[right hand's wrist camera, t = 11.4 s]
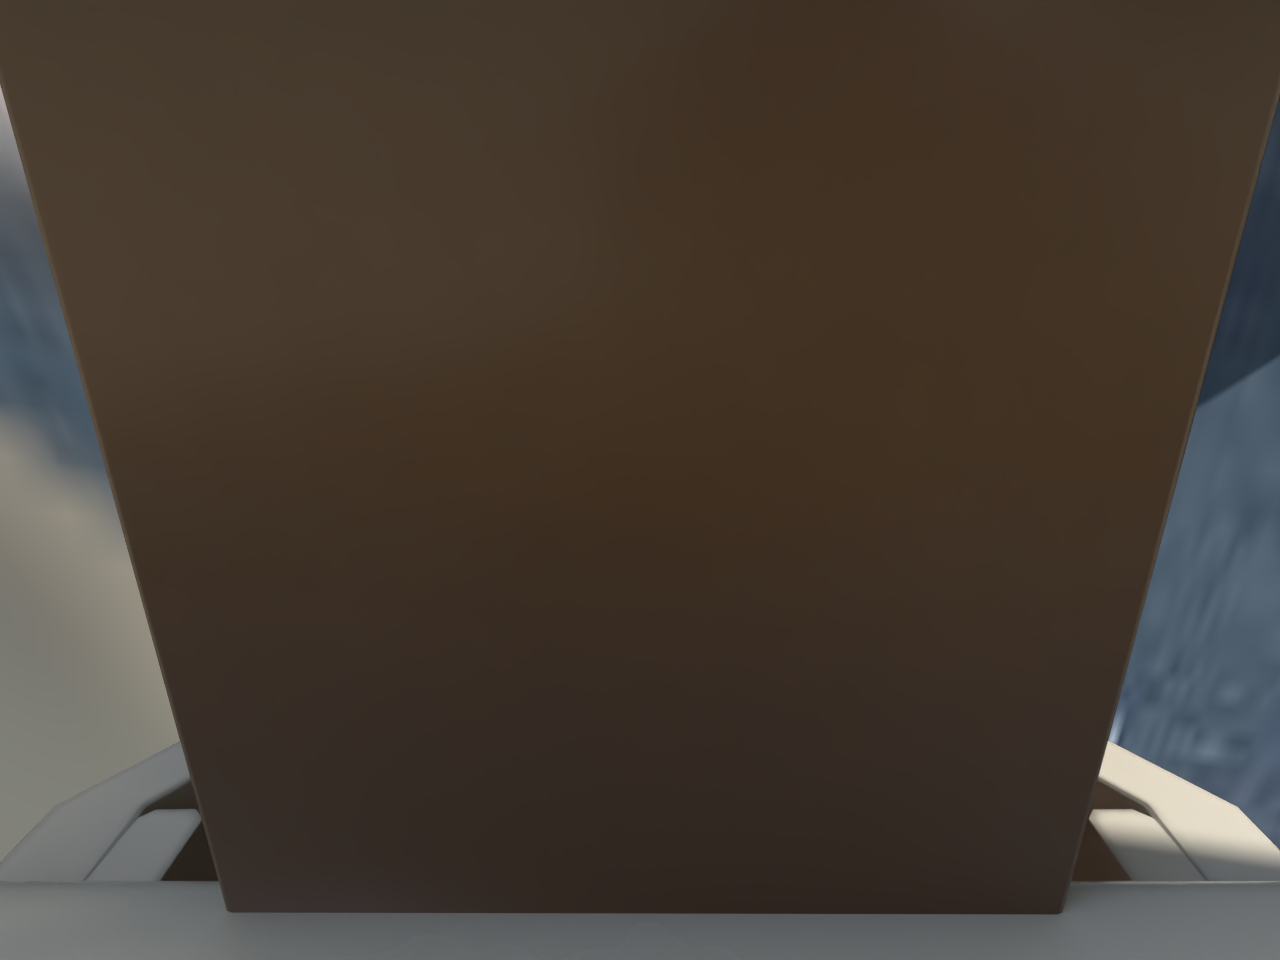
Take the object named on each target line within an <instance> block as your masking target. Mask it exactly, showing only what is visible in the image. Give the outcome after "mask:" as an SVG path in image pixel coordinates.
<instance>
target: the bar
mask: <svg viewBox="0 0 1280 960" xmlns="http://www.w3.org/2000/svg"><path fill="white" fill-rule="evenodd" d="M0 85H1V88H2V92H3V96H4V99H5V103H6V107H7V110H8V114H9V118H10V121H11V125H12V129H13V132H14V136H15V139H16V143H17V147H18V150H19V154H20V158H21V161H22V165H23V169H24V172H25V176H26V180H27V183H28V187H29V191H30V194H31V198H32V202H33V205H34V209H35V212H36V216H37V220H38V223H39V227H40V231H41V234H42V238H43V242H44V245H45V249H46V253H47V256H48V260H49V264H50V267H51V271H52V275H53V278H54V282H55V285H56V289H57V293H58V296H59V300H60V304H61V307H62V311H63V315H64V318H65V322H66V326H67V329H68V333H69V337H70V340H71V344H72V348H73V351H74V355H75V358H76V362H77V366H78V369H79V373H80V377H81V380H82V384H83V388H84V391H85V395H86V399H87V402H88V406H89V410H90V413H91V417H92V421H93V424H94V428H95V432H96V435H97V439H98V442H99V446H100V450H101V453H102V457H103V461H104V464H105V468H106V472H107V475H108V479H109V483H110V486H111V490H112V494H113V497H114V501H115V505H116V508H117V512H118V515H119V519H120V523H121V526H122V530H123V534H124V537H125V541H126V545H127V548H128V552H129V556H130V559H131V563H132V567H133V570H134V574H135V578H136V581H137V585H138V588H139V592H140V596H141V599H142V603H143V607H144V610H145V614H146V618H147V621H148V625H149V629H150V632H151V636H152V640H153V643H154V647H155V651H156V654H157V658H158V661H159V665H160V669H161V672H162V676H163V680H164V683H165V687H166V691H167V694H168V698H169V702H170V705H171V709H172V713H173V716H174V720H175V724H176V727H177V731H178V734H179V738H180V742H181V745H182V749H183V753H184V756H185V760H186V764H187V767H188V771H189V775H190V778H191V782H192V786H193V789H194V793H195V797H196V800H197V804H198V808H199V811H200V815H201V818H202V822H203V826H204V829H205V833H206V837H207V840H208V844H209V848H210V851H211V855H212V859H213V862H214V866H215V870H216V873H217V877H218V881H219V884H220V888H221V891H222V895H223V899H224V902H225V906H226V910H227V911H229V912H231V913H618V914H1044V915H1058V914H1060V913H1062V912H1063V908H1064V904H1065V900H1066V897H1067V893H1068V889H1069V885H1070V882H1071V878H1072V874H1073V870H1074V867H1075V863H1076V859H1077V855H1078V852H1079V848H1080V844H1081V840H1082V837H1083V833H1084V829H1085V825H1086V822H1087V818H1088V814H1089V810H1090V807H1091V803H1092V799H1093V795H1094V792H1095V788H1096V784H1097V780H1098V776H1099V773H1100V769H1101V765H1102V761H1103V758H1104V754H1105V750H1106V746H1107V743H1108V739H1109V735H1110V731H1111V728H1112V724H1113V720H1114V716H1115V713H1116V709H1117V705H1118V701H1119V698H1120V694H1121V690H1122V686H1123V683H1124V679H1125V675H1126V671H1127V667H1128V664H1129V660H1130V656H1131V652H1132V649H1133V645H1134V641H1135V637H1136V634H1137V630H1138V626H1139V622H1140V619H1141V615H1142V611H1143V607H1144V604H1145V600H1146V596H1147V592H1148V589H1149V585H1150V581H1151V577H1152V574H1153V570H1154V566H1155V562H1156V559H1157V555H1158V551H1159V547H1160V543H1161V540H1162V536H1163V532H1164V528H1165V525H1166V521H1167V517H1168V513H1169V510H1170V506H1171V502H1172V498H1173V495H1174V491H1175V487H1176V483H1177V480H1178V476H1179V472H1180V468H1181V465H1182V461H1183V457H1184V453H1185V450H1186V446H1187V442H1188V438H1189V435H1190V431H1191V427H1192V423H1193V419H1194V416H1195V412H1196V408H1197V404H1198V401H1199V397H1200V393H1201V389H1202V386H1203V382H1204V378H1205V374H1206V371H1207V367H1208V363H1209V359H1210V356H1211V352H1212V348H1213V344H1214V341H1215V337H1216V333H1217V329H1218V326H1219V322H1220V318H1221V314H1222V310H1223V307H1224V303H1225V299H1226V295H1227V292H1228V288H1229V284H1230V280H1231V277H1232V273H1233V269H1234V265H1235V262H1236V258H1237V254H1238V250H1239V247H1240V243H1241V239H1242V235H1243V232H1244V228H1245V224H1246V220H1247V217H1248V213H1249V209H1250V205H1251V202H1252V198H1253V194H1254V190H1255V186H1256V183H1257V179H1258V175H1259V171H1260V168H1261V164H1262V160H1263V156H1264V153H1265V149H1266V145H1267V141H1268V138H1269V134H1270V130H1271V126H1272V123H1273V119H1274V115H1275V111H1276V108H1277V104H1278V100H1279V96H1280V0H0Z"/></svg>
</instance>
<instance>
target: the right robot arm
mask: <svg viewBox="0 0 1280 960" xmlns="http://www.w3.org/2000/svg"><path fill="white" fill-rule="evenodd" d="M0 960H1280V850H1279V849H1278V848H1277V847H1276V846H1275V845H1274V844H1273V843H1272V842H1271V841H1270V840H1269V839H1268V838H1267V837H1266V836H1265V835H1264V834H1263V833H1262V832H1261V831H1260V830H1259V829H1258V828H1257V827H1256V826H1255V825H1254V824H1253V823H1252V822H1251V821H1250V820H1249V819H1248V818H1247V817H1246V815H1245V814H1244V813H1243V812H1242V811H1241V810H1240V809H1239V808H1238V807H1236V806H1234V805H1232V804H1230V803H1228V802H1226V801H1224V800H1223V799H1221V798H1219V797H1217V796H1215V795H1213V794H1211V793H1209V792H1207V791H1205V790H1203V789H1201V788H1199V787H1197V786H1195V785H1193V784H1191V783H1189V782H1187V781H1185V780H1184V779H1182V778H1180V777H1178V776H1176V775H1174V774H1172V773H1170V772H1168V771H1166V770H1164V769H1162V768H1160V767H1158V766H1156V765H1154V764H1152V763H1150V762H1148V761H1146V760H1145V759H1143V758H1141V757H1139V756H1137V755H1135V754H1133V753H1131V752H1129V751H1127V750H1125V749H1123V748H1121V747H1119V746H1117V745H1115V744H1113V743H1111V742H1109V741H1108V743H1107V746H1106V750H1105V754H1104V758H1103V761H1102V765H1101V769H1100V773H1099V776H1098V780H1097V784H1096V788H1095V792H1094V795H1093V799H1092V803H1091V807H1090V810H1089V814H1088V818H1087V822H1086V825H1085V829H1084V833H1083V837H1082V840H1081V844H1080V848H1079V852H1078V855H1077V859H1076V863H1075V867H1074V870H1073V874H1072V878H1071V882H1070V885H1069V889H1068V893H1067V897H1066V900H1065V904H1064V908H1063V912H1062V913H1060V914H1058V915H1044V914H618V913H231V912H229V911H227V910H226V906H225V902H224V899H223V895H222V891H221V888H220V884H219V881H218V877H217V873H216V870H215V866H214V862H213V859H212V855H211V851H210V848H209V844H208V840H207V837H206V833H205V829H204V826H203V822H202V818H201V815H200V811H199V808H198V804H197V800H196V797H195V793H194V789H193V786H192V782H191V778H190V775H189V771H188V767H187V764H186V760H185V756H184V753H183V749H182V745H181V742H178V743H176V744H174V745H172V746H170V747H168V748H166V749H164V750H162V751H160V752H158V753H156V754H155V755H153V756H151V757H149V758H147V759H145V760H143V761H141V762H139V763H137V764H135V765H133V766H131V767H129V768H127V769H125V770H123V771H122V772H120V773H118V774H116V775H114V776H112V777H110V778H108V779H106V780H104V781H102V782H100V783H98V784H96V785H94V786H92V787H91V788H89V789H87V790H85V791H83V792H81V793H79V794H77V795H75V796H73V797H71V798H69V799H67V800H65V801H63V802H62V803H60V804H58V805H56V806H54V807H53V808H52V809H51V811H50V812H49V813H48V814H47V815H46V816H45V817H44V818H43V819H42V820H41V821H40V822H39V823H38V824H37V825H36V826H35V827H34V828H33V829H32V830H31V831H30V832H29V833H28V834H27V835H26V836H25V837H24V838H23V840H21V842H20V843H19V844H18V845H17V846H16V847H15V848H14V849H13V850H12V851H11V852H10V853H9V854H8V855H7V856H6V857H5V858H4V859H3V860H2V861H1V862H0Z"/></svg>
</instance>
